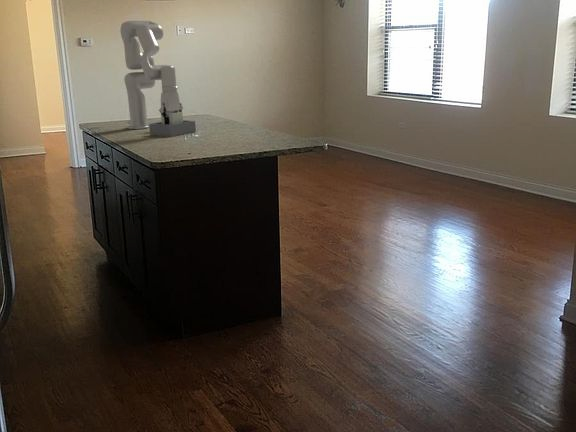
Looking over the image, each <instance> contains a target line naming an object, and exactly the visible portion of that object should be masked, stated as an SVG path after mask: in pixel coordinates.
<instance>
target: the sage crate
mask: <svg viewBox="0 0 576 432" xmlns="http://www.w3.org/2000/svg"><path fill="white" fill-rule="evenodd" d="M168 117H169V125H172V124H178V123H183V120H184V117H183V111H182V112H169V113H168ZM160 120H161V122H162V124H165V123H164V117H163V115H162V114H161V113H160Z"/></svg>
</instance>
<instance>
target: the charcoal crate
mask: <svg viewBox="0 0 576 432" xmlns="http://www.w3.org/2000/svg"><path fill="white" fill-rule="evenodd" d="M148 125H149V134H150V136H155V135H157V137H168V136H169V137H176V136H182V135H188V134H194V133H197V130H196V129H197V128H196V120H185V119H183V123H178V124H172V125H166V124H162V121H157V122H151V123H149V124H148Z"/></svg>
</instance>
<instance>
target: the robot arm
mask: <svg viewBox="0 0 576 432" xmlns="http://www.w3.org/2000/svg"><path fill="white" fill-rule="evenodd" d="M119 31H120V37H121V39H122V42H123V47H124V58H125V59H124V60H125V66H126V68H127V69H129V70H131V71H133V72H127V74H125V76H124V77H123V79H124V84H125V89H126V94H127V101H128V113H129V120H128V121H127V124H128V125H129V126H127V128H128V129H130V130H142V129H150V127H149V124H148V118H147V117H148V115H147V106H146V105H147V104H146V97H145V94H144V92H142V89H143V90H144V89H152V88H153V87H155V85H156V81H161V93H160V108H159V109H158V111H159V113H160V115H161V114H162V115H163V117H164V123H165V124H166V125H169V117H168V113H169V112H172V111H174V112H182V113H183V109H184V107H183V106H182V105H180V103H181V102H180V96H179V93H178V86H177V77H176V68H175V66H174V65H168V64H158V65H155V59H154V56H155V55H156V54H158V52H159V51H160V46H159V43H158V41H159V40H162V38H163V37H164V30H163V28H162V26H161V25H160V24H159V23H156V22H153V21H151V20H126V21H124V22H122V23H121V25H120V30H119ZM137 38H138V39H137ZM140 45H141V47H140ZM141 48H142V50H143V51H141ZM134 70H135V72H134ZM137 70H138V71H137ZM139 70H142V71H139Z"/></svg>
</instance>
